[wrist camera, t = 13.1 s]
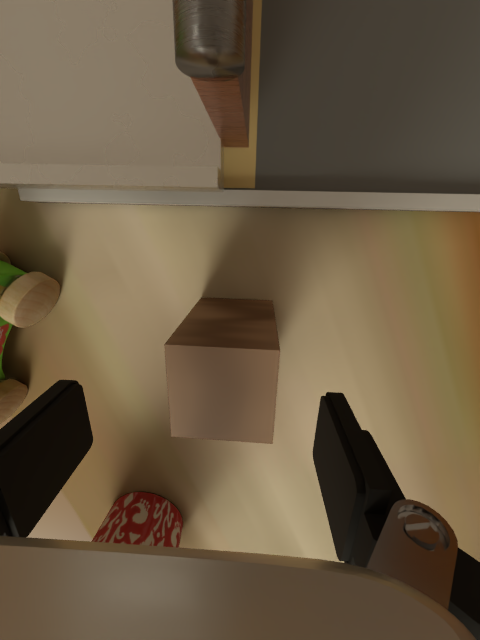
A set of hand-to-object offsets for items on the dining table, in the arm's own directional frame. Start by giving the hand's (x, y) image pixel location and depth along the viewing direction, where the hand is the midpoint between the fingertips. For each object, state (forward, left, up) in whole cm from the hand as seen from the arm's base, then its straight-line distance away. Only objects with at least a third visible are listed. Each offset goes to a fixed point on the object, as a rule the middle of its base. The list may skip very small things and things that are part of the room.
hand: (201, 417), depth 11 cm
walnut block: (-1, 0, -10) cm, 10 cm away
